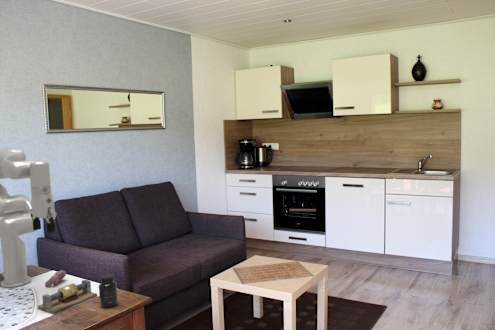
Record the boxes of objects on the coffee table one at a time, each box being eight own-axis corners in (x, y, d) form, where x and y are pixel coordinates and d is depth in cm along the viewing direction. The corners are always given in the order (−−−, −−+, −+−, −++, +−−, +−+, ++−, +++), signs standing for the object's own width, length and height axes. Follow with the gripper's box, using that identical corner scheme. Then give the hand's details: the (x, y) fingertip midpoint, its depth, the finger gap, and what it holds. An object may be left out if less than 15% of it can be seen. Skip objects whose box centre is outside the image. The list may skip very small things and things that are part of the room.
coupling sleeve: (70, 293, 183) (70, 282, 183) (78, 296, 181) (77, 285, 180) (57, 298, 178) (57, 287, 178) (65, 301, 176) (64, 290, 175)
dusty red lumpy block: (51, 290, 197) (57, 277, 196) (43, 286, 198) (48, 272, 197) (64, 283, 207) (69, 270, 206) (56, 278, 207) (61, 265, 206)
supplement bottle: (99, 303, 178) (97, 274, 177) (116, 300, 181) (115, 272, 179) (100, 309, 172) (99, 280, 170) (118, 306, 174) (117, 277, 173)
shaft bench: (37, 308, 174) (36, 293, 174) (80, 291, 191) (79, 277, 190) (54, 314, 168) (53, 299, 168) (97, 296, 185) (96, 282, 184)
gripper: (61, 190, 182) (64, 231, 183) (37, 188, 191) (40, 226, 193) (45, 193, 175) (48, 235, 177) (20, 190, 185) (23, 230, 186)
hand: (44, 230), depth 185 cm, fingers open, 9 cm apart
